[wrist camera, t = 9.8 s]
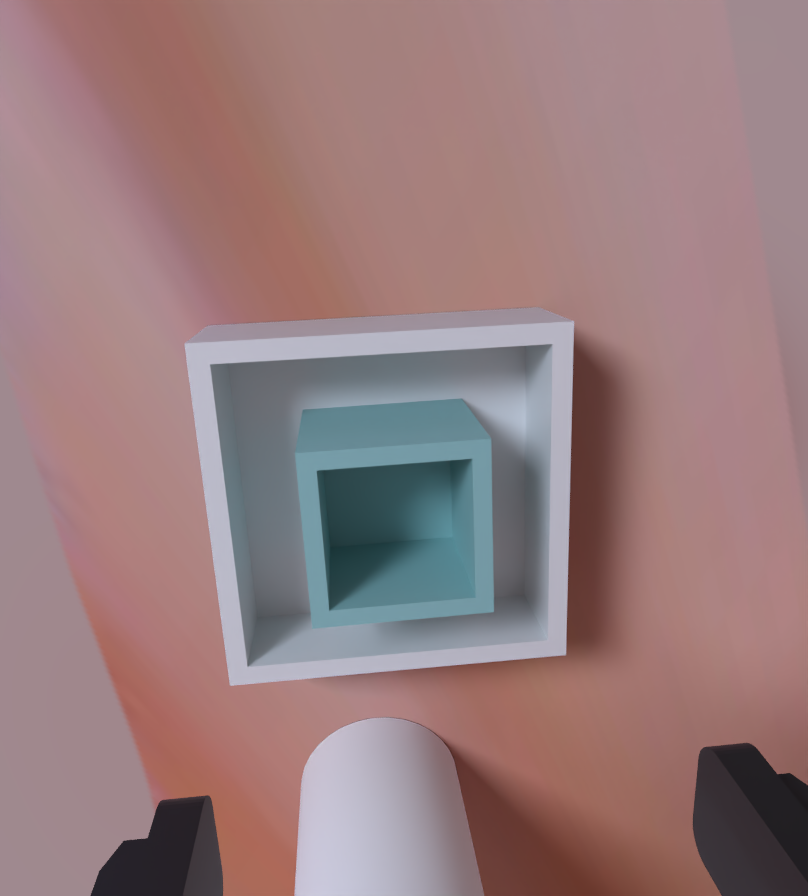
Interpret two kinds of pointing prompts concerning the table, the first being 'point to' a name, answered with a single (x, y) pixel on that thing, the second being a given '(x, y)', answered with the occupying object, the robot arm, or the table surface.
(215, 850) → the robot arm
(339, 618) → the teal crate
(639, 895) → the table surface
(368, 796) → the cylindrical container
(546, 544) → the white crate
